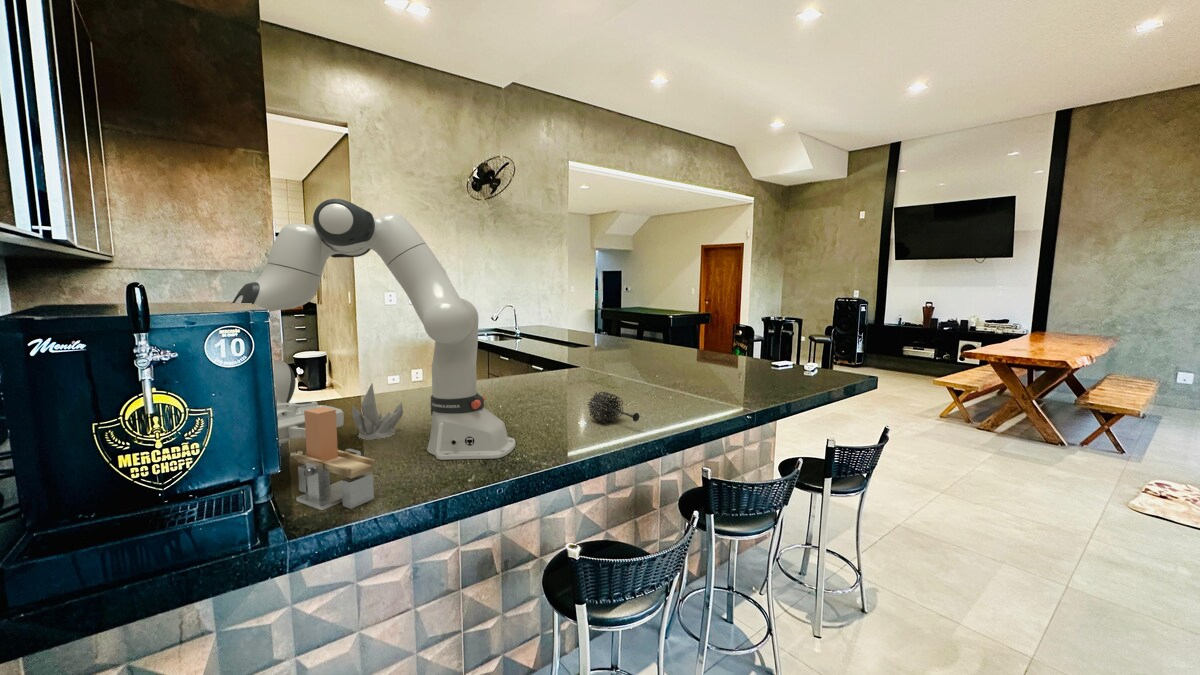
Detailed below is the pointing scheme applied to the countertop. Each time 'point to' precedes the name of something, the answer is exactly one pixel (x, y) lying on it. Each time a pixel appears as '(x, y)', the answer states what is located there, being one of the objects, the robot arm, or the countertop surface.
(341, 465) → the beam
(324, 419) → the block
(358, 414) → the crystal
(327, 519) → the countertop surface
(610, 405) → the massage brush
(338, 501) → the fulcrum
